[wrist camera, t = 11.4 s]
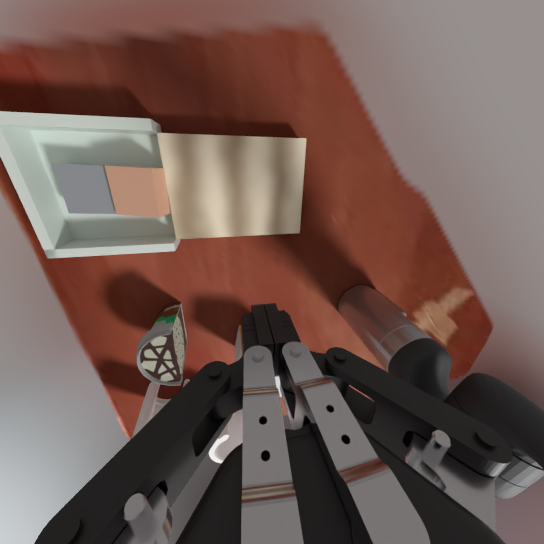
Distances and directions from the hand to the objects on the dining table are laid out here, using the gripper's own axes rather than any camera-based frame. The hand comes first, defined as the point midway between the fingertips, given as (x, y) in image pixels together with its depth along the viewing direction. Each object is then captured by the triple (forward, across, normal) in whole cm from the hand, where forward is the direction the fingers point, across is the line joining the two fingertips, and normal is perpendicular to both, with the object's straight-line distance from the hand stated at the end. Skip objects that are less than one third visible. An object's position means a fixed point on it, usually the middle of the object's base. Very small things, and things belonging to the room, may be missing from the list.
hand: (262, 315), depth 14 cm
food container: (+27, +15, +20) cm, 37 cm away
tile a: (+24, +13, -5) cm, 28 cm away
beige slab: (+27, 0, -5) cm, 28 cm away
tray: (+27, +18, -5) cm, 33 cm away
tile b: (+26, +20, -5) cm, 33 cm away
